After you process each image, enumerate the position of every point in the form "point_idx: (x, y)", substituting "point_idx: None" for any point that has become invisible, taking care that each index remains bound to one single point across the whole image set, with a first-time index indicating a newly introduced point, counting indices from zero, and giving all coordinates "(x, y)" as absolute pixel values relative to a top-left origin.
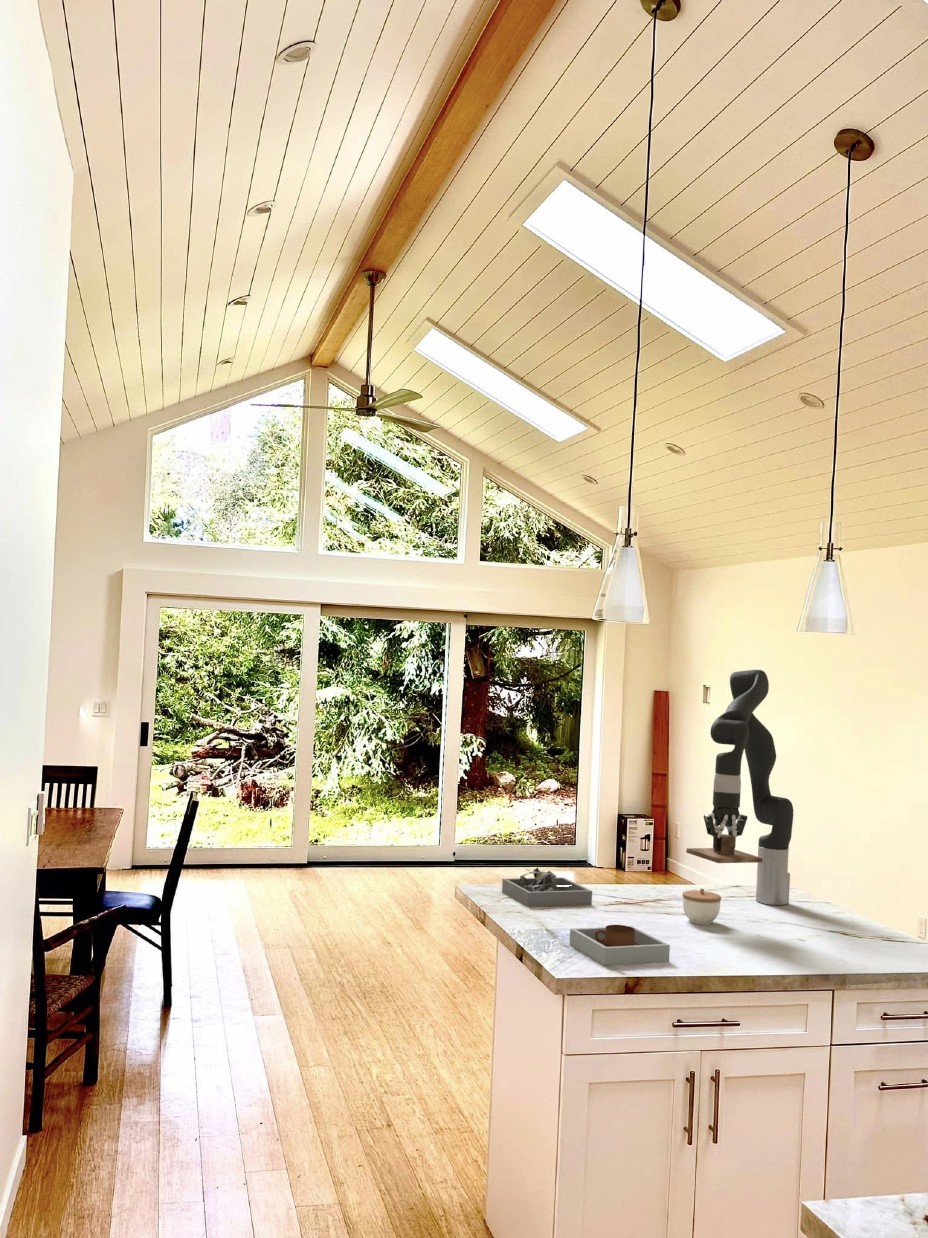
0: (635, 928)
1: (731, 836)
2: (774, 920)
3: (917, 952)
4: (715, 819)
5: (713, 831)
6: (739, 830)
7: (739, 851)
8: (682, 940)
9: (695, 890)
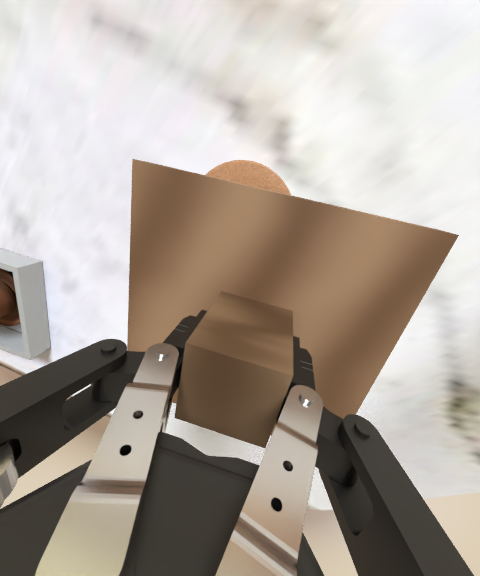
0: (16, 281)
1: (243, 435)
2: (442, 278)
3: (433, 496)
4: (51, 492)
5: (89, 409)
6: (329, 498)
7: (387, 336)
8: (124, 291)
9: (263, 169)
